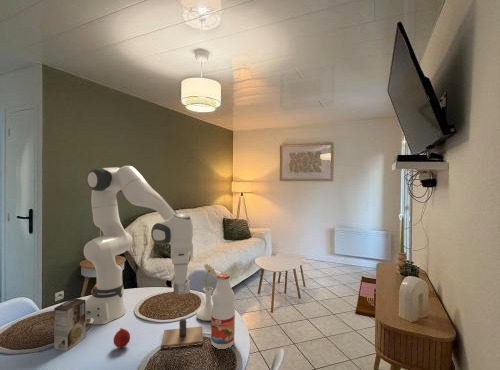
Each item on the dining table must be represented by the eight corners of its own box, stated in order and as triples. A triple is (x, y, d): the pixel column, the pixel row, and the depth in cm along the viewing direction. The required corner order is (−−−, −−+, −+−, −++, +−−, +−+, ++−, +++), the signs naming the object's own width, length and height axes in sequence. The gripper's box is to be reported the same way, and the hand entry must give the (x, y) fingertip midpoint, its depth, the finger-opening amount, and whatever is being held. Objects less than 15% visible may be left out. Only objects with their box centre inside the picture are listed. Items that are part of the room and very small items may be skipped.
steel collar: (173, 294, 106) (173, 284, 106) (174, 288, 112) (174, 279, 112) (189, 293, 107) (189, 283, 107) (190, 287, 113) (190, 278, 113)
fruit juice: (238, 340, 110) (239, 272, 110) (227, 353, 101) (228, 280, 101) (218, 334, 114) (219, 269, 114) (206, 346, 105) (207, 276, 105)
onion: (125, 341, 108) (125, 322, 108) (132, 347, 104) (133, 327, 104) (110, 348, 103) (111, 328, 103) (117, 354, 100) (117, 333, 100)
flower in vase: (222, 320, 125) (223, 267, 125) (198, 325, 121) (199, 270, 121) (215, 308, 137) (216, 260, 137) (193, 312, 133) (194, 262, 133)
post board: (160, 350, 103) (161, 327, 103) (164, 334, 114) (164, 314, 114) (202, 345, 107) (202, 324, 106) (202, 330, 117) (202, 310, 117)
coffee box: (72, 335, 112) (72, 297, 111) (86, 337, 110) (86, 299, 110) (53, 349, 103) (53, 307, 102) (67, 351, 101) (67, 309, 101)
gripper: (176, 248, 119) (176, 278, 119) (171, 261, 99) (171, 298, 99) (190, 247, 120) (190, 277, 121) (189, 260, 100) (189, 296, 100)
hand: (182, 287), depth 110 cm, fingers closed on steel collar, 6 cm apart
